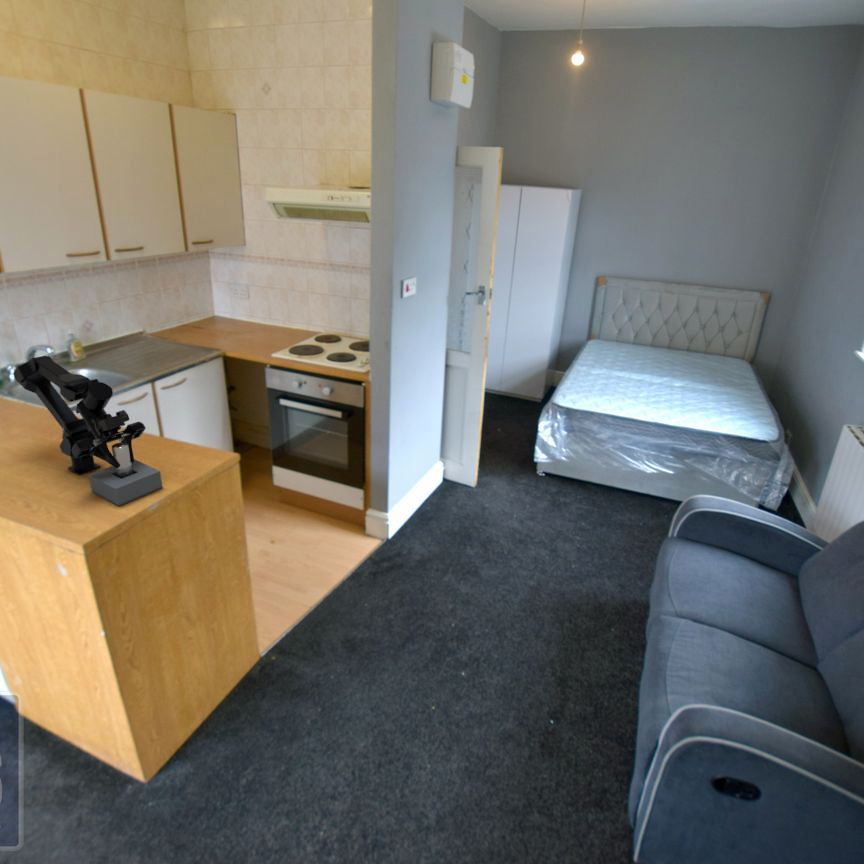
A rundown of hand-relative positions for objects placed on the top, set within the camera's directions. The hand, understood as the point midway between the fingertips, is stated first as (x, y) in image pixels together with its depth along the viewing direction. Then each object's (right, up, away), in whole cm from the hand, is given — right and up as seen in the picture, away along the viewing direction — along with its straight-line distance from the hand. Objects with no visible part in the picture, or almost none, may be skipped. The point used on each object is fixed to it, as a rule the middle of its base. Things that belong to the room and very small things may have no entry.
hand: (125, 464), depth 159 cm
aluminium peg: (-2, -6, +3) cm, 7 cm away
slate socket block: (-2, -7, +4) cm, 9 cm away
